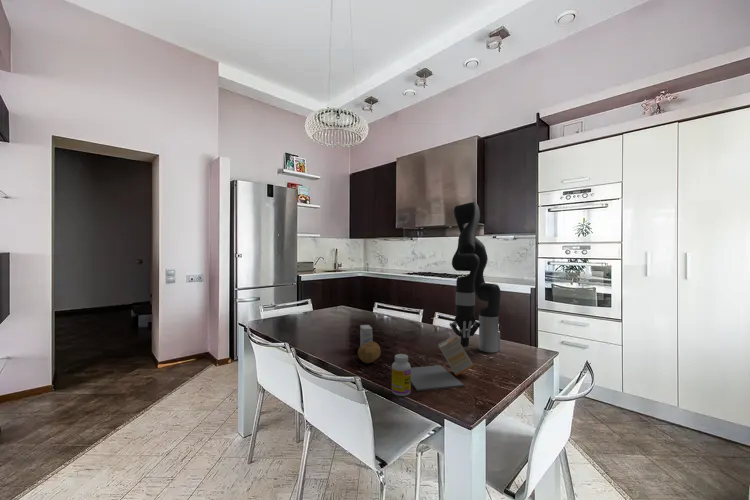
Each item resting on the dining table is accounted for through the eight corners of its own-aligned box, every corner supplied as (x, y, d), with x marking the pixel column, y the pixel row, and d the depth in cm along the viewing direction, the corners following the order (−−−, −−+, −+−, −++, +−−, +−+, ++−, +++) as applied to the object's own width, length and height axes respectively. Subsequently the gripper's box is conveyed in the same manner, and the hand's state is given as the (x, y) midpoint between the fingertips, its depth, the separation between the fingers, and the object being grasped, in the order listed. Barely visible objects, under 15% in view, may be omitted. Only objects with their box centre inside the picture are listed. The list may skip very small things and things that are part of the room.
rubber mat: (440, 366, 137) (440, 365, 137) (463, 386, 118) (463, 384, 118) (400, 369, 133) (400, 368, 133) (417, 390, 114) (417, 389, 114)
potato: (352, 366, 137) (352, 347, 137) (364, 355, 151) (364, 338, 151) (373, 369, 134) (373, 350, 134) (384, 358, 147) (384, 341, 147)
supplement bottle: (405, 398, 108) (405, 360, 108) (388, 394, 111) (388, 357, 111) (413, 391, 113) (413, 355, 113) (397, 386, 117) (397, 351, 117)
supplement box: (471, 362, 131) (455, 334, 131) (474, 367, 126) (457, 338, 126) (453, 371, 131) (437, 343, 132) (455, 376, 127) (439, 347, 127)
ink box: (373, 353, 155) (373, 328, 155) (362, 353, 154) (362, 329, 154) (369, 347, 163) (369, 324, 163) (359, 348, 162) (359, 324, 162)
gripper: (475, 301, 133) (474, 342, 133) (445, 302, 130) (445, 344, 130) (485, 304, 126) (484, 348, 126) (454, 305, 123) (453, 350, 123)
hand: (464, 346), depth 128 cm, fingers closed
